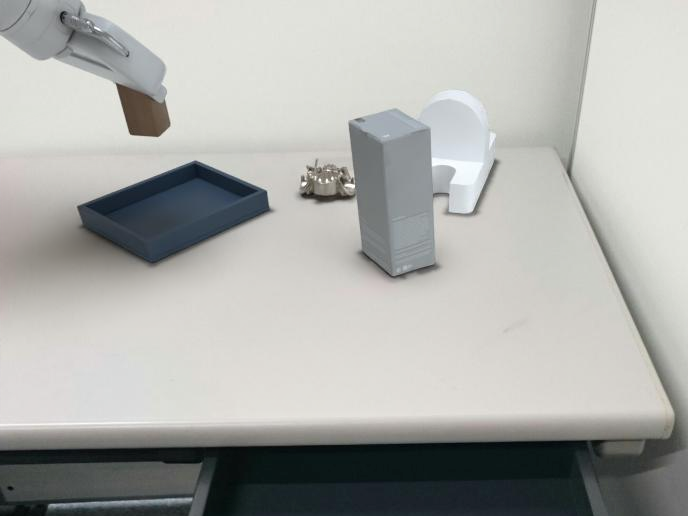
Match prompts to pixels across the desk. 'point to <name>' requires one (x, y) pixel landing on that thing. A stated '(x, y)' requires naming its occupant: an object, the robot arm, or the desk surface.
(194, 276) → the desk surface
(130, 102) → the wooden block
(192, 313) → the desk surface
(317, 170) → the ornament
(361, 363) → the desk surface
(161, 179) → the tray
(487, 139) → the bracket
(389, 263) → the cosmetic box
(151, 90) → the robot arm
